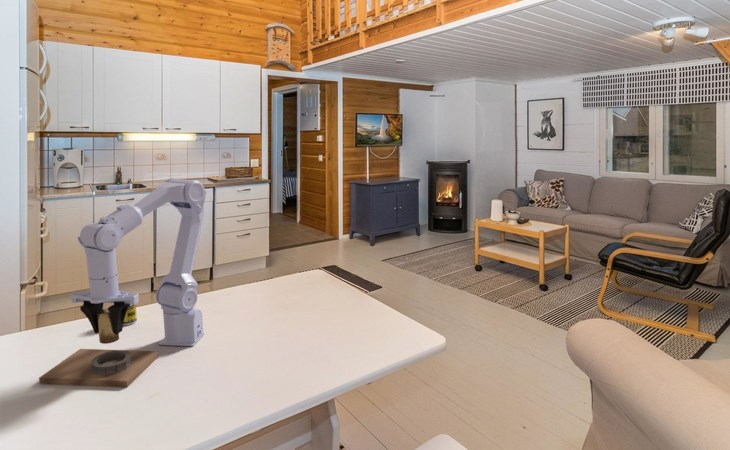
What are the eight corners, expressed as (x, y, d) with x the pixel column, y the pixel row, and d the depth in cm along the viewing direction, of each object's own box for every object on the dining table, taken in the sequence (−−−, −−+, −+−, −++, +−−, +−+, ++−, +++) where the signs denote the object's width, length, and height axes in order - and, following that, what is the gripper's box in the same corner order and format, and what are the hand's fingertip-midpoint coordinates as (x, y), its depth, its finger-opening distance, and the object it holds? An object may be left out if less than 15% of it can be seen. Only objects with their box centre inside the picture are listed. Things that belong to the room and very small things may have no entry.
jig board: (158, 356, 113) (157, 344, 112) (127, 387, 99) (126, 372, 99) (80, 354, 114) (79, 341, 113) (39, 383, 100) (37, 369, 99)
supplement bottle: (129, 326, 131) (127, 299, 129) (115, 325, 131) (112, 297, 130) (140, 320, 135) (138, 293, 134) (126, 318, 136) (124, 292, 134)
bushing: (122, 336, 106) (120, 308, 105) (113, 343, 102) (110, 314, 101) (105, 335, 106) (103, 308, 105) (95, 343, 102) (92, 314, 101)
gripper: (59, 280, 97) (66, 338, 100) (124, 282, 97) (129, 340, 99) (80, 271, 104) (86, 325, 107) (141, 272, 104) (146, 327, 106)
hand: (108, 332), depth 104 cm, fingers closed on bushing, 4 cm apart
